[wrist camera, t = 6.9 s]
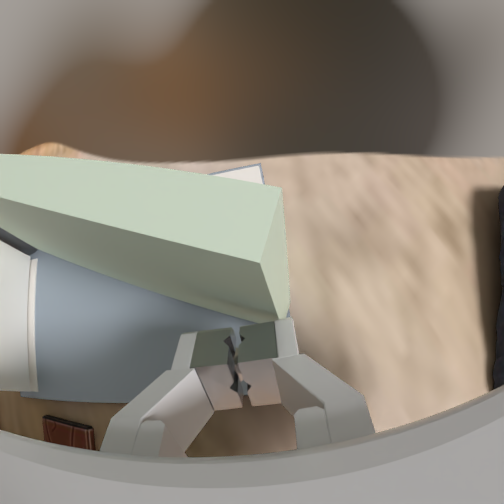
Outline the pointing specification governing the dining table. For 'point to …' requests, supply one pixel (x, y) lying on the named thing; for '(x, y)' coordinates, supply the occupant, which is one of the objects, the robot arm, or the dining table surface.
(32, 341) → the card
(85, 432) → the decorative fence
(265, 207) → the green wall panel
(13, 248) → the fence post and white panel
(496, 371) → the dark slate chunk
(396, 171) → the dining table surface
